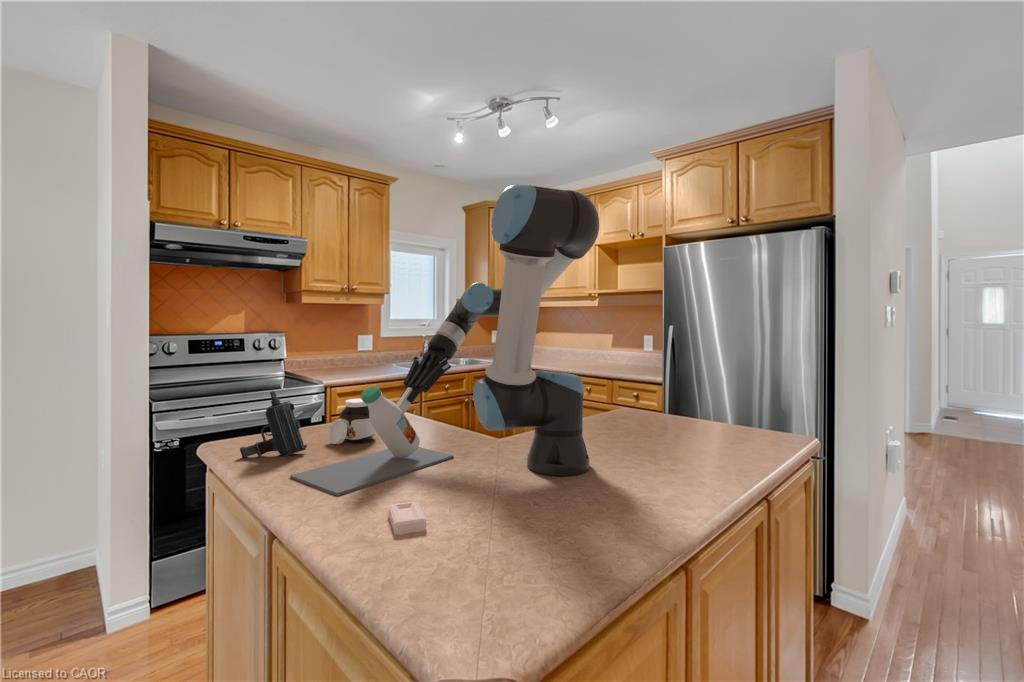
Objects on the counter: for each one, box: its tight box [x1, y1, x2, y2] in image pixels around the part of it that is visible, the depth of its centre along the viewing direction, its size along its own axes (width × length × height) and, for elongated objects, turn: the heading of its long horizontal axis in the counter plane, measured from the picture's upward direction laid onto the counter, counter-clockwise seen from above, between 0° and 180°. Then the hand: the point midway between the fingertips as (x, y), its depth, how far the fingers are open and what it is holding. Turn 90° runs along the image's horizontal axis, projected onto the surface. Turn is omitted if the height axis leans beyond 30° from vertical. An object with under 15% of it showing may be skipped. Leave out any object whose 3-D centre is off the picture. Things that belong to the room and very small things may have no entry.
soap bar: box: [388, 501, 427, 536], centre depth 89 cm, size 5×9×2 cm, turn 21°
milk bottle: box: [360, 385, 421, 458], centre depth 122 cm, size 8×8×20 cm
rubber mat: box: [289, 446, 455, 497], centre depth 120 cm, size 34×18×1 cm, turn 143°
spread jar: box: [327, 397, 377, 445], centre depth 144 cm, size 12×11×12 cm
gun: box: [239, 390, 308, 459], centre depth 128 cm, size 3×17×15 cm
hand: (398, 410), depth 127 cm, fingers closed
